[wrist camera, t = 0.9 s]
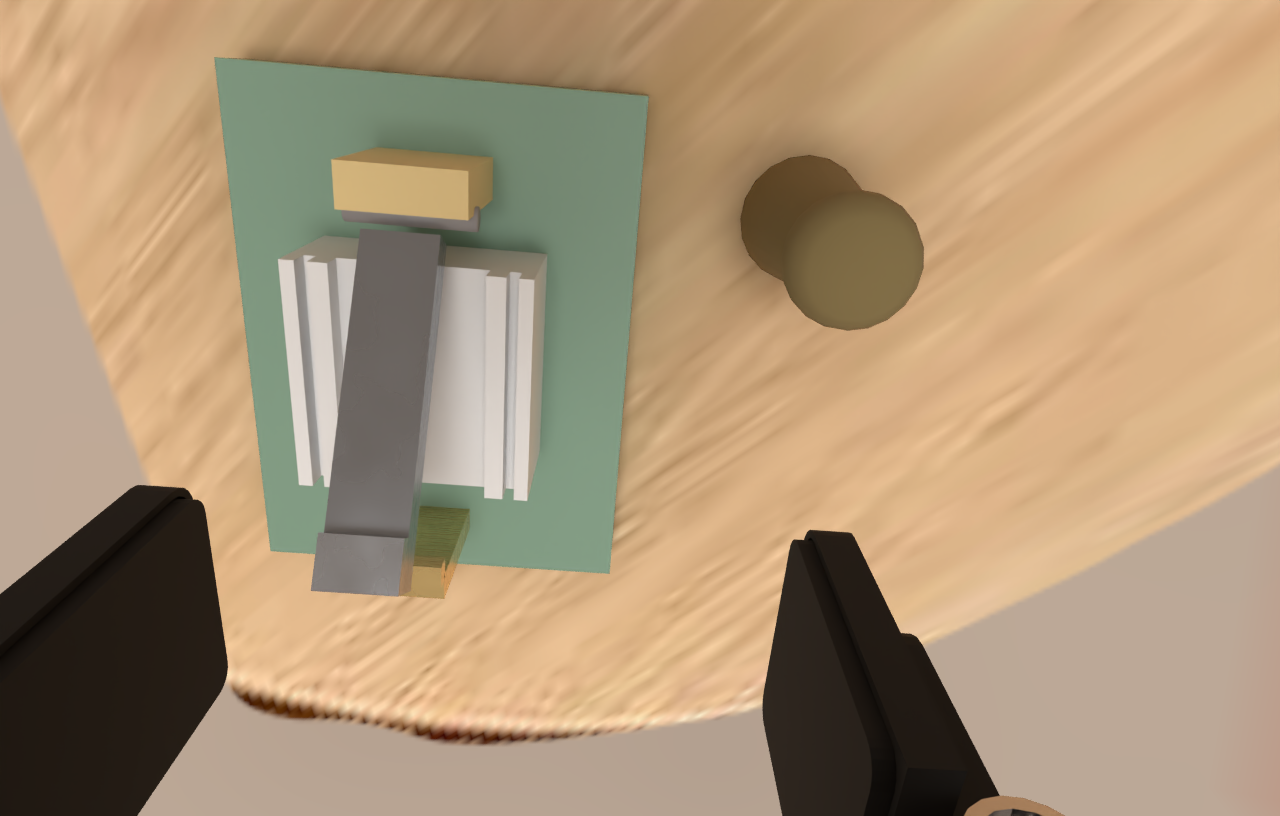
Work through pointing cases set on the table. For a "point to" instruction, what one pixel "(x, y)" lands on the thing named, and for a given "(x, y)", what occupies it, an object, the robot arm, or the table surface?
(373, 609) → the table surface
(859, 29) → the table surface
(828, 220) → the cork
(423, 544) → the lug
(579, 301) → the board
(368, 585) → the strap
